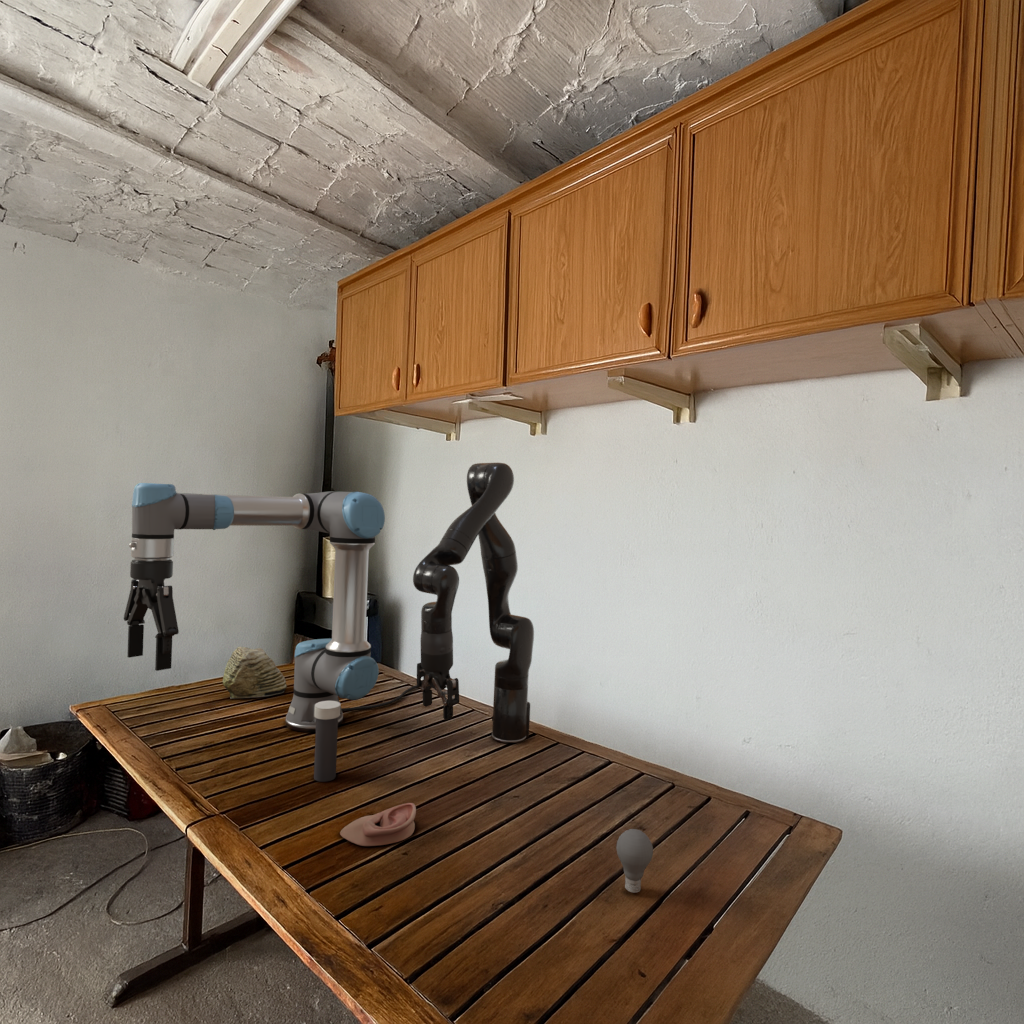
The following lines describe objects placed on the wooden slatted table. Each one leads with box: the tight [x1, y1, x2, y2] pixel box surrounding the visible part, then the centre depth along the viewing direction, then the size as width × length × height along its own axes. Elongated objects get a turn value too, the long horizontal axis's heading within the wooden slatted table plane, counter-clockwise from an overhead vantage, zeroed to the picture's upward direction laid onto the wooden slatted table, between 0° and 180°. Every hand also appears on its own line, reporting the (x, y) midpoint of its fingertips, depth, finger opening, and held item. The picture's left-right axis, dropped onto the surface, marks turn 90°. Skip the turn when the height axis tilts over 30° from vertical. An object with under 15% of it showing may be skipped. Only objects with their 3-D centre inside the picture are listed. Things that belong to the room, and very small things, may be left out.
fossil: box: [222, 646, 288, 699], centre depth 198 cm, size 9×18×15 cm, turn 132°
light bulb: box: [615, 828, 654, 894], centre depth 106 cm, size 6×6×10 cm
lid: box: [314, 701, 342, 720], centre depth 143 cm, size 6×6×2 cm
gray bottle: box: [313, 717, 339, 783], centre depth 143 cm, size 5×5×16 cm
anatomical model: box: [339, 802, 417, 847], centre depth 121 cm, size 13×4×12 cm
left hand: (148, 662), depth 129 cm, fingers open, 13 cm apart
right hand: (437, 711), depth 150 cm, fingers open, 8 cm apart
